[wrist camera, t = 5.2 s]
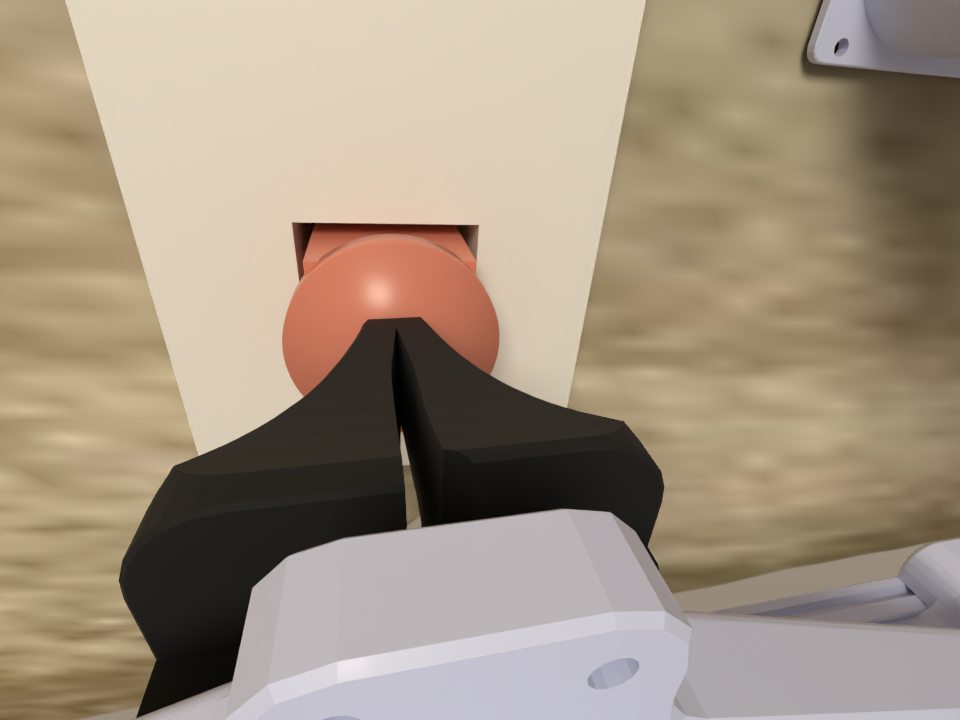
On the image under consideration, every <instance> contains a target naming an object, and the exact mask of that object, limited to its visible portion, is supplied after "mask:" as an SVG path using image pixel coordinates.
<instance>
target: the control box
mask: <svg viewBox="0 0 960 720" xmlns="http://www.w3.org/2000/svg"><path fill="white" fill-rule="evenodd" d="M645 2H646V0H66V4H67V7H68V11H69V14H70V18H71V21H72V24H73V28H74V31H75V35H76V38H77V42H78V45H79V48H80V52H81V55H82V59H83V62H84V65H85V69H86V72H87V76H88V79H89V83H90V86H91V89H92V93H93V96H94V100H95V103H96V106H97V110H98V113H99V117H100V120H101V124H102V127H103V130H104V134H105V137H106V141H107V144H108V147H109V151H110V154H111V158H112V161H113V165H114V168H115V171H116V175H117V178H118V182H119V185H120V188H121V192H122V195H123V199H124V202H125V206H126V209H127V212H128V216H129V219H130V223H131V226H132V230H133V233H134V236H135V240H136V243H137V247H138V250H139V253H140V257H141V260H142V264H143V267H144V271H145V274H146V277H147V281H148V284H149V288H150V291H151V294H152V298H153V301H154V305H155V308H156V312H157V315H158V318H159V322H160V325H161V329H162V332H163V335H164V339H165V342H166V346H167V349H168V353H169V356H170V359H171V363H172V366H173V370H174V373H175V377H176V380H177V383H178V387H179V390H180V394H181V397H182V400H183V404H184V407H185V411H186V414H187V418H188V421H189V424H190V428H191V431H192V435H193V438H194V441H195V445H196V448H197V452H198V455H199V456H200V455H202V454H204V453H207V452H209V451H211V450H214V449H216V448H218V447H221V446H223V445H225V444H227V443H229V442H231V441H233V440H236V439H238V438H239V437H241V436H243V435H245V434H247V433H249V432H251V431H253V430H255V429H256V428H258V427H260V426H261V425H263V424H265V423H267V422H268V421H270V420H272V419H273V418H275V417H276V416H278V415H279V414H281V413H282V412H283V411H285V410H286V409H288V408H289V407H291V406H292V405H293V404H295V403H296V402H298V401H299V400H301V399H302V398H303V395H302V394H301V393H300V391H299V390H298V389H297V387H296V386H295V384H294V382H293V381H292V379H291V377H290V375H289V372H288V370H287V367H286V364H285V360H284V356H283V349H282V333H283V325H284V321H285V317H286V313H287V310H288V307H289V304H290V301H291V298H292V296H293V293H294V291H295V289H296V287H297V285H298V283H299V282H300V280H301V279H302V277H303V276H304V268H303V259H304V256H305V253H306V250H307V247H308V244H309V240H310V237H311V234H312V228H311V223H371V224H445V225H456V227H457V229H458V230H459V232H460V234H461V235H462V237H463V239H464V241H465V242H466V244H467V246H468V248H469V249H470V251H471V253H472V254H473V256H474V258H475V260H476V261H477V263H476V275H477V277H478V278H479V280H480V281H481V283H482V285H483V286H484V288H485V290H486V292H487V294H488V295H489V297H490V299H491V302H492V304H493V306H494V308H495V312H496V315H497V319H498V324H499V333H500V334H499V349H498V355H497V359H496V362H495V365H494V368H493V370H492V372H491V374H490V375H491V376H493V377H494V378H496V379H498V380H500V381H501V382H503V383H505V384H507V385H509V386H511V387H513V388H515V389H518V390H520V391H522V392H524V393H527V394H529V395H531V396H534V397H536V398H539V399H541V400H544V401H547V402H550V403H553V404H556V405H559V406H562V407H565V408H567V405H568V400H569V395H570V390H571V385H572V379H573V374H574V369H575V364H576V359H577V354H578V348H579V343H580V338H581V333H582V328H583V323H584V317H585V312H586V307H587V302H588V297H589V292H590V286H591V281H592V276H593V271H594V266H595V261H596V255H597V250H598V245H599V240H600V235H601V230H602V224H603V219H604V214H605V209H606V204H607V199H608V193H609V188H610V183H611V178H612V173H613V168H614V162H615V157H616V152H617V147H618V142H619V137H620V131H621V126H622V121H623V116H624V111H625V105H626V100H627V95H628V90H629V85H630V80H631V74H632V69H633V64H634V59H635V54H636V49H637V43H638V38H639V33H640V28H641V23H642V18H643V12H644V7H645ZM400 449H401V455H402V463H403V466H404V465H410V463H409V459H408V454H407V450H406V445H405V441H404V436H403V432H401V445H400Z"/></svg>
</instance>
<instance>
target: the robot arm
mask: <svg viewBox="0 0 960 720" xmlns="http://www.w3.org/2000/svg"><path fill="white" fill-rule="evenodd" d="M837 42H839V48H838V50H837V52H836V54H834V48H835V46H836V44H837ZM807 58H808V60H809V61H810V62H811V63H813V64H818V65H829V66H839V67H849V68H859V69H869V70H880V71H890V72H900V73H910V74H920V75H931V76H941V77H951V78H960V0H823V3H822V6H821V9H820V12H819V15H818V18H817V21H816V24H815V27H814V29H813V32H812V35H811V38H810V41H809V44H808V48H807ZM401 427H402V431H403V436H404V441H405V445H406V450H407V454H408V459H409V463H410V468H411V472H412V477H413V481H414V486H415V490H416V495H417V500H418V506H419V511H420V519H421V527H420V528H413V529H407V521H406V500H405V484H404V474H403V463H402V455H401V449H400V445H401ZM663 491H664V483H663V478H662V473H661V470H660V469H659V468H658V466H657V465H656V463H655V462H654V461H653V459H652V458H651V456H650V455H649V453H648V452H647V451H646V449H645V448H644V446H643V445H642V443H641V442H640V441H639V439H638V438H637V437H636V436H635V434H634V433H633V432H632V431H631V430H630V428H629V427H628V426H627V425H626V424H625V423H624V421H619V420H615V419H610V418H606V417H601V416H597V415H592V414H588V413H583V412H579V411H575V410H572V409H569V408H565V407H562V406H559V405H556V404H553V403H550V402H547V401H544V400H541V399H539V398H536V397H534V396H531V395H529V394H527V393H524V392H522V391H520V390H518V389H515V388H513V387H511V386H509V385H507V384H505V383H503V382H501V381H500V380H498V379H496V378H494V377H493V376H491V375H489V374H487V373H486V372H484V371H482V370H481V369H479V368H478V367H476V366H475V365H474V364H472V363H471V362H470V361H468V360H467V359H465V358H464V357H463V356H461V355H460V354H459V353H458V352H456V351H455V350H454V349H453V348H452V347H451V346H450V345H448V344H447V343H446V342H445V341H444V340H443V339H442V338H441V337H440V336H439V335H438V334H437V333H436V332H435V331H434V330H433V329H432V328H431V327H430V326H429V325H428V324H427V323H426V322H425V321H424V320H423V319H422V318H421V317H407V318H386V319H368V320H367V321H366V322H365V323H364V324H363V326H362V328H361V330H360V332H359V333H358V335H357V337H356V338H355V340H354V341H353V343H352V344H351V346H350V347H349V349H348V350H347V351H346V353H345V354H344V356H343V357H342V358H341V359H340V361H339V362H338V363H337V364H336V365H335V367H334V368H333V369H332V370H331V371H330V372H329V373H328V375H327V376H326V377H325V378H324V379H323V380H322V381H321V382H320V383H319V384H318V385H317V386H316V387H315V388H314V389H313V390H311V391H310V392H309V393H308V394H307V395H306V396H304V397H303V398H302V399H301V400H299V401H298V402H296V403H295V404H293V405H292V406H291V407H289V408H288V409H286V410H285V411H283V412H282V413H281V414H279V415H278V416H276V417H275V418H273V419H272V420H270V421H268V422H267V423H265V424H263V425H261V426H260V427H258V428H256V429H255V430H253V431H251V432H249V433H247V434H245V435H243V436H241V437H239V438H238V439H236V440H233V441H231V442H229V443H227V444H225V445H223V446H221V447H218V448H216V449H214V450H211V451H209V452H207V453H204V454H202V455H200V456H197V457H195V458H193V459H190V460H188V461H186V462H183V463H180V464H178V465H175V466H174V467H173V468H172V470H171V471H170V473H169V475H168V476H167V478H166V479H165V481H164V482H163V484H162V485H161V487H160V488H159V490H158V491H157V493H156V495H155V497H154V499H153V500H152V502H151V504H150V506H149V508H148V509H147V511H146V513H145V515H144V517H143V519H142V522H141V524H140V526H139V528H138V530H137V532H136V534H135V536H134V538H133V540H132V542H131V544H130V546H129V548H128V550H127V552H126V554H125V556H124V558H123V561H122V566H121V571H120V577H119V583H120V587H121V590H122V594H123V597H124V600H125V602H126V604H127V606H128V608H129V610H130V611H131V613H132V615H133V617H134V619H135V621H136V623H137V625H138V626H139V628H140V630H141V632H142V634H143V636H144V638H145V639H146V641H147V643H148V645H149V647H150V649H151V651H152V652H153V654H154V656H155V658H156V659H157V660H156V663H155V666H154V668H153V671H152V674H151V677H150V680H149V683H148V686H147V688H146V691H145V694H144V697H143V700H142V703H141V706H140V708H139V711H138V714H137V717H136V719H133V720H960V537H958V538H952V539H946V540H941V541H935V542H931V543H928V544H926V545H923V546H922V547H920V548H919V549H917V550H915V551H914V552H913V553H912V554H911V555H910V556H909V557H908V558H907V560H906V561H905V562H904V564H903V566H902V567H901V569H900V571H899V575H898V577H892V578H887V579H882V580H876V581H871V582H866V583H861V584H855V585H850V586H845V587H839V588H834V589H829V590H823V591H818V592H813V593H808V594H802V595H797V596H792V597H786V598H781V599H776V600H770V601H765V602H760V603H754V604H750V605H744V606H739V607H733V608H728V609H723V610H718V611H712V612H694V611H682V610H681V608H680V607H679V605H678V603H677V601H676V600H675V598H674V596H673V595H672V593H671V591H670V589H669V588H668V586H667V584H666V583H665V581H664V579H663V578H662V576H661V574H660V572H659V567H658V564H657V562H656V560H655V559H654V557H653V555H652V554H651V552H650V550H649V549H648V547H647V546H648V543H649V540H650V537H651V534H652V531H653V528H654V525H655V522H656V519H657V515H658V512H659V509H660V506H661V503H662V497H663Z"/></svg>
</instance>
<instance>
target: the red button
mask: <svg viewBox="0 0 960 720" xmlns="http://www.w3.org/2000/svg"><path fill="white" fill-rule="evenodd" d="M476 263H477V261H476V260H475V258H474V256H473V254H472V253H471V251H470V249H469V248H468V246H467V244H466V242H465V241H464V239H463V237H462V235H461V234H460V232H459V230H458V229H457V227H456V225H445V224H371V223H315V225H314V228H313V231H312V234H311V237H310V240H309V244H308V247H307V250H306V253H305V256H304V259H303V268H304V276H303V277H302V279H301V280H300V282H299V283H298V285H297V287H296V289H295V291H294V293H293V296H292V298H291V301H290V304H289V307H288V310H287V313H286V317H285V321H284V325H283V333H282V349H283V356H284V360H285V364H286V367H287V370H288V372H289V375H290V377H291V379H292V381H293V382H294V384H295V386H296V387H297V389H298V390H299V391H300V393H301V394H302V395H303V397H304V396H306V395H307V394H308V393H309V392H310V391H311V390H313V389H314V388H315V387H316V386H317V385H318V384H319V383H320V382H321V381H322V380H323V379H324V378H325V377H326V376H327V375H328V373H329V372H330V371H331V370H332V369H333V368H334V367H335V365H336V364H337V363H338V362H339V361H340V359H341V358H342V357H343V356H344V354H345V353H346V351H347V350H348V349H349V347H350V346H351V344H352V343H353V341H354V340H355V338H356V337H357V335H358V333H359V332H360V330H361V328H362V326H363V324H364V323H365V322H366V321H367V320H368V319H386V318H407V317H421V318H422V319H423V320H424V321H425V322H426V323H427V324H428V325H429V326H430V327H431V328H432V329H433V330H434V331H435V332H436V333H437V334H438V335H439V336H440V337H441V338H442V339H443V340H444V341H445V342H446V343H447V344H448V345H450V346H451V347H452V348H453V349H454V350H455V351H456V352H458V353H459V354H460V355H461V356H463V357H464V358H465V359H467V360H468V361H470V362H471V363H472V364H474V365H475V366H476V367H478V368H479V369H481V370H482V371H484V372H486V373H487V374H489V375H490V374H491V372H492V370H493V368H494V365H495V362H496V359H497V355H498V349H499V334H500V333H499V324H498V319H497V315H496V312H495V308H494V306H493V304H492V302H491V299H490V297H489V295H488V294H487V292H486V290H485V288H484V286H483V285H482V283H481V281H480V280H479V278H478V277H477V275H476ZM401 432H403V431H402V427H401Z"/></svg>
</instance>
